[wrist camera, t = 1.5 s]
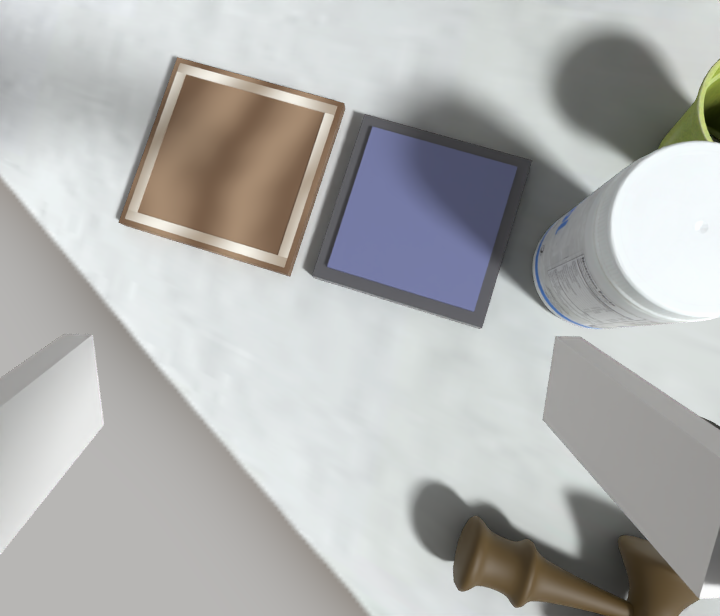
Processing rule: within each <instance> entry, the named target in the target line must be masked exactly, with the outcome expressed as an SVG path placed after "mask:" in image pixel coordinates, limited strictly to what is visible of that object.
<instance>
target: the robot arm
mask: <svg viewBox="0 0 720 616" xmlns="http://www.w3.org/2000/svg"><path fill="white" fill-rule="evenodd" d="M543 421H544V422H545V423H546V424H547V425H548V427H549V428H550V429H551V430H552V431H553V432H554V433H555V435H556V436H557V437H558V438H559V439H560V440H561V441H562V443H563V444H564V445H565V446H566V447H567V448H568V449H569V451H570V452H571V453H572V454H573V455H574V456H575V457H576V459H577V460H578V461H579V462H580V463H581V464H582V465H583V467H584V468H585V469H586V470H587V471H588V472H589V473H590V475H591V476H592V477H593V478H594V479H595V480H596V481H597V483H598V484H599V485H600V486H601V487H602V488H603V489H604V491H605V492H606V493H607V494H608V495H609V496H610V498H611V499H612V500H613V501H614V502H615V503H616V504H617V506H618V507H619V508H620V509H621V510H622V511H623V512H624V514H625V515H626V516H627V517H628V518H629V519H630V520H631V522H632V523H633V524H634V525H635V526H636V527H637V528H638V530H639V531H640V532H641V533H642V534H643V535H644V536H645V538H646V539H647V540H648V541H649V542H650V543H651V544H652V546H653V547H654V548H655V549H656V550H657V551H658V552H659V554H660V555H661V556H662V557H663V558H664V559H665V560H666V562H667V563H668V564H669V565H670V566H671V567H672V569H673V570H674V571H675V572H676V573H677V574H678V575H679V577H680V578H681V579H682V580H683V581H684V582H685V583H686V585H687V586H688V587H689V588H690V589H691V590H692V591H693V593H694V594H695V595H696V596H697V597H698V598H699V599H705V598H720V426H718V425H716V424H715V423H713V422H711V421H709V420H707V419H705V418H702V417H700V416H698V415H697V414H695V413H694V412H692V411H691V410H689V409H688V408H686V407H685V406H683V405H682V404H680V403H679V402H677V401H676V400H674V399H673V398H671V397H670V396H668V395H667V394H665V393H664V392H662V391H661V390H659V389H658V388H656V387H655V386H653V385H652V384H650V383H649V382H647V381H646V380H644V379H643V378H641V377H640V376H638V375H637V374H635V373H634V372H632V371H631V370H629V369H628V368H626V367H625V366H623V365H622V364H620V363H619V362H617V361H616V360H614V359H613V358H611V357H610V356H608V355H607V354H605V353H604V352H602V351H601V350H599V349H598V348H596V347H595V346H593V345H592V344H591V343H589V342H588V341H586V340H585V339H583V338H582V337H570V336H555V343H554V349H553V355H552V362H551V368H550V375H549V381H548V388H547V394H546V400H545V407H544V413H543ZM103 425H104V421H103V413H102V404H101V396H100V389H99V381H98V372H97V364H96V356H95V348H94V340H93V334H63V335H62V336H60V337H58V338H57V339H56V340H54V341H53V342H51V343H50V344H48V345H47V346H45V347H44V348H43V349H41V350H40V351H38V352H37V353H35V354H34V355H33V356H31V357H30V358H28V359H27V360H26V361H24V362H23V363H21V364H20V365H18V366H17V367H15V368H14V369H12V370H11V371H9V372H8V373H7V374H5V375H4V376H2V377H1V378H0V555H1V553H2V552H3V551H4V550H5V548H6V547H7V546H8V545H9V543H10V542H11V541H12V540H13V538H14V537H15V536H16V534H17V533H18V532H19V531H20V529H21V528H22V527H23V526H24V524H25V523H26V522H27V521H28V519H29V518H30V517H31V516H32V514H33V513H34V512H35V510H36V509H37V508H38V507H39V506H40V504H41V503H42V502H43V500H44V499H45V498H46V497H47V496H48V494H49V493H50V492H51V491H52V489H53V488H54V487H55V486H56V484H57V483H58V482H59V480H60V479H61V478H62V477H63V475H64V474H65V473H66V472H67V470H68V469H69V468H70V467H71V465H72V464H73V463H74V462H75V460H76V459H77V458H78V457H79V455H80V454H81V453H82V452H83V450H84V449H85V448H86V447H87V445H88V444H89V443H90V441H91V440H92V439H93V438H94V437H95V435H96V434H97V433H98V432H99V430H100V429H101V428H102V427H103Z"/></svg>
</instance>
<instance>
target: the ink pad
mask: <svg viewBox="0 0 720 616" xmlns="http://www.w3.org/2000/svg"><path fill="white" fill-rule="evenodd" d="M531 162H532V160H529V159H525V158H522V157H518V156H514V155H511V154H507V153H504V152H500V151H496V150H493V149H489V148H485V147H482V146H478V145H475V144H471V143H467V142H464V141H460V140H456V139H453V138H449V137H446V136H442V135H438V134H435V133H431V132H428V131H424V130H420V129H417V128H413V127H409V126H406V125H402V124H399V123H395V122H391V121H388V120H384V119H380V118H377V117H373V116H370V115H366V114H365V115H364V118H363V121H362V124H361V127H360V130H359V133H358V136H357V139H356V142H355V145H354V149H353V152H352V155H351V158H350V161H349V164H348V167H347V170H346V173H345V176H344V179H343V182H342V185H341V188H340V192H339V195H338V198H337V201H336V204H335V207H334V210H333V213H332V216H331V219H330V222H329V225H328V228H327V231H326V235H325V238H324V241H323V244H322V247H321V250H320V253H319V256H318V259H317V262H316V265H315V268H314V271H313V275H312V276H313V277H314V278H316V279H319V280H323V281H326V282H329V283H332V284H336V285H339V286H342V287H345V288H349V289H352V290H355V291H358V292H362V293H365V294H368V295H371V296H375V297H378V298H381V299H384V300H388V301H391V302H394V303H397V304H401V305H404V306H407V307H410V308H413V309H417V310H420V311H423V312H426V313H430V314H433V315H436V316H439V317H443V318H446V319H449V320H452V321H456V322H459V323H462V324H465V325H469V326H472V327H475V328H478V329H480V328H482V326H483V323H484V319H485V316H486V313H487V309H488V306H489V303H490V299H491V296H492V293H493V289H494V286H495V283H496V279H497V276H498V273H499V269H500V266H501V263H502V259H503V256H504V253H505V249H506V246H507V243H508V239H509V236H510V233H511V229H512V226H513V222H514V219H515V216H516V212H517V209H518V206H519V202H520V199H521V196H522V192H523V189H524V186H525V182H526V179H527V176H528V172H529V169H530V166H531Z"/></svg>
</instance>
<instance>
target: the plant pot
mask: <svg viewBox="0 0 720 616" xmlns="http://www.w3.org/2000/svg"><path fill="white" fill-rule="evenodd" d="M709 134H712V135H713V136H715V137H716V138H718V139H719V140H720V59H719V60H718V61H717V62H716V63H715V64H714V65H713V66H712V67H711V69H710V70H709V71H708V73H707V75H706V76H705V78H704V80H703V82H702V84H701V86H700V89H699V92H698V96H697V98H696V100H695V102H694V103H693V104H692V105H691V106H690V108H689V109H688V110H687V111H686V113H685V114H684V115H683V116H682V117H681V118H680V120H679V121H678V122H677V123H676V124H675V125H674V127H673V128H672V129H671V130H670V131H669V132H668V134H667V135H666V136H665V137H664V139H663V140H662V142H661V143H660V145H659V148H658V149H660V148H662V147H665V146H668V145H671V144H675V143H680V142H687V141H711V142H715V141H713V140H712V138H711V137H710V135H709Z"/></svg>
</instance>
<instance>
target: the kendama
mask: <svg viewBox="0 0 720 616" xmlns="http://www.w3.org/2000/svg"><path fill="white" fill-rule="evenodd" d="M618 546H619V550H620V553H621V556H622V559H623V562H624V565H625V568H626V571H627V575H628V579H629V592H628V599H627V601H626V600H624V599H622V598H620V597H617V596H615V595H613V594H611V593H609V592H607V591H605V590H603V589H600V588H598V587H596V586H594V585H592V584H590V583H588V582H586V581H584V580H583V579H581V578H579V577H577V576H575V575H573V574H571V573H569V572H567V571H566V570H564V569H562V568H560V567H558V566H557V565H555V564H553V563H551V562H550V561H548V560H547V559H545V558H544V557H542V556H541V555H540V554H539V552H538V551H537V549H536V547H535V545H534V543H533V542H532V541H531V540H529V539H524V540H521V541H511V540H508V539H505V538H503V537H501V536H499V535H497V534H495V533H494V532H492V531H491V530H489V529H488V527H487V526H486V524H485V522H484V521H483V520H482V519H481V518H480V517H478V516H473V517H471V518H470V519H469V520H468V521H467V523H466V524H465V526H464V528H463V530H462V532H461V535H460V537H459V540H458V544H457V548H456V552H455V559H454V565H453V576H454V583H455V585H456V587H457V588H458V590H459V591H461V592H462V591H467V590H469V589H471V588H473V587H475V586H484V587H488V588H491V589H494V590H496V591H499V592H500V593H502V594H504V595H505V596H506V597H507V598H508V599H509V601H510V602H511V604H512V605H513V606H514V607H515V608H518V607H522V606H524V605H525V604H526V603H527V602H530V601H540V602H548V603H553V604H559V605H563V606H568V607H573V608H577V609H581V610H586V611H590V612H594V613H598V614H601V615H605V616H678V615H679V614H680V613H681V612H682V611H683V610H684V609H685V608H687V607H688V606H689V605H691V604H693V603H694V602H696V601H698V600H699V598H698V597H697V596H696V595H695V594H694V593H693V591H692V590H691V589H690V588H689V587H688V586H687V585H686V583H685V582H684V581H683V580H682V579H681V578H680V577H679V575H678V574H677V573H676V572H675V571H674V570H673V569H672V567H671V566H670V565H669V564H668V563H667V562H666V560H665V559H664V558H663V557H662V556H661V555H660V554H659V552H658V551H657V550H656V549H655V548H654V547H653V546H652V544H651V543H650V542H649V541H648V540H645V539H641V538H638V537H635V536H629V535H621V536H620V537H619V539H618Z"/></svg>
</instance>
